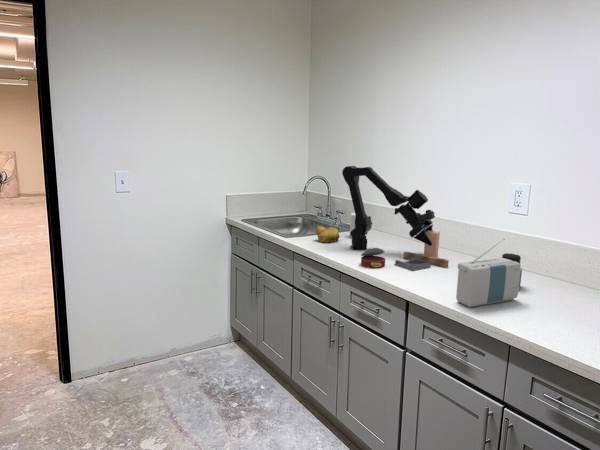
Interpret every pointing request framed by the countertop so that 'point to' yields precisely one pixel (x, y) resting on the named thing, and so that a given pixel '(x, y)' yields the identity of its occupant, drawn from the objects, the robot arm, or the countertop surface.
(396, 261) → the keeper bracket
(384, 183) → the robot arm
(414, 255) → the door edge strip
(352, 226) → the supplement box
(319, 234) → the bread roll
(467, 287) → the stereo radio cassette player
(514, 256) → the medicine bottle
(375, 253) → the canned food
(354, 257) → the countertop surface
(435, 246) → the salmon pink cylinder
